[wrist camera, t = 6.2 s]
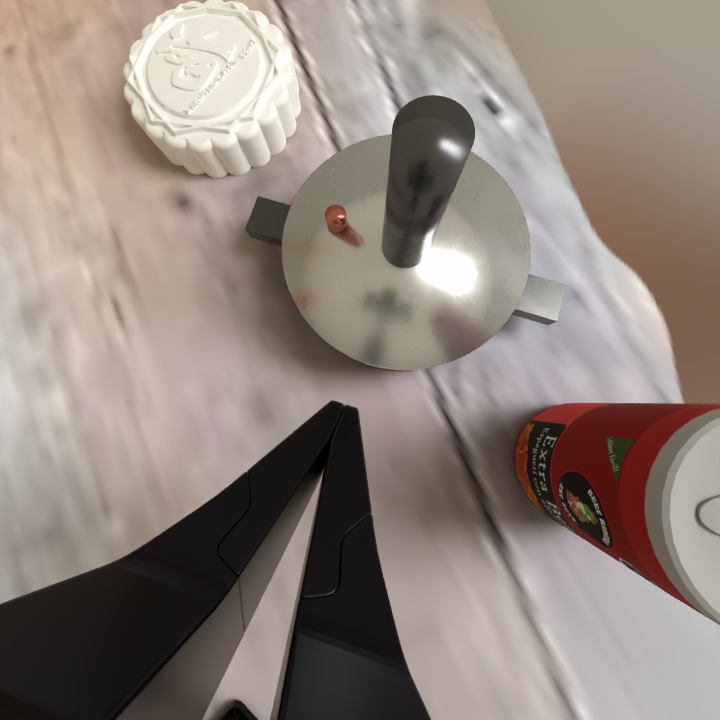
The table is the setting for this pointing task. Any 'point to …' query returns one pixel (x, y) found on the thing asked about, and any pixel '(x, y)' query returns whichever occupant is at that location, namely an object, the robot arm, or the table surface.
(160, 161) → the table surface
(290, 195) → the table surface
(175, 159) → the mooncake
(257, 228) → the cooker pot
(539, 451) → the canned food
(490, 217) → the cooker lid
